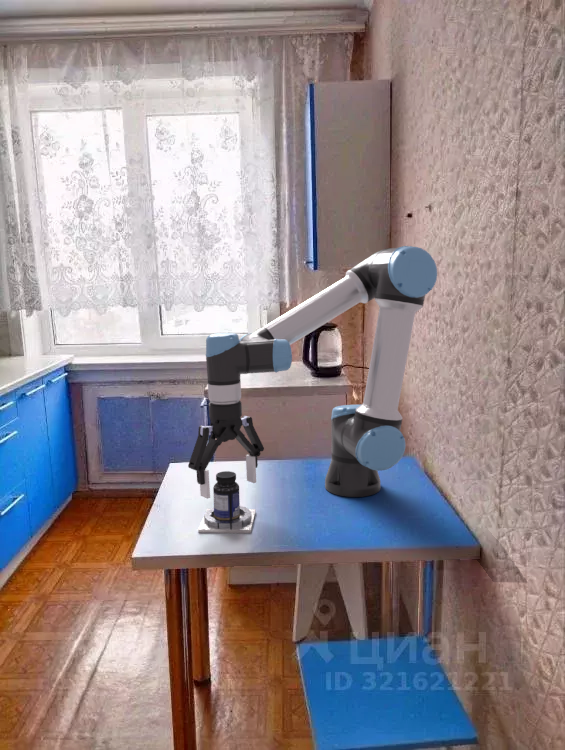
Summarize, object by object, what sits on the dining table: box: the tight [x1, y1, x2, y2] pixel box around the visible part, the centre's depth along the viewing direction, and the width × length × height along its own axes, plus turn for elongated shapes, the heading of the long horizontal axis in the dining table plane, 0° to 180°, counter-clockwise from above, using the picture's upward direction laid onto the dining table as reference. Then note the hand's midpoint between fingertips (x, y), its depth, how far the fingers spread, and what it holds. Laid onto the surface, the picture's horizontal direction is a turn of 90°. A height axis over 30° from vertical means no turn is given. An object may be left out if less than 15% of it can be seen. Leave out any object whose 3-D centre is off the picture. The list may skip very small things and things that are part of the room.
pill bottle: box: [212, 470, 241, 521], centre depth 140 cm, size 6×6×11 cm
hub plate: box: [197, 505, 257, 534], centre depth 141 cm, size 12×12×2 cm
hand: (229, 489), depth 140 cm, fingers open, 13 cm apart
